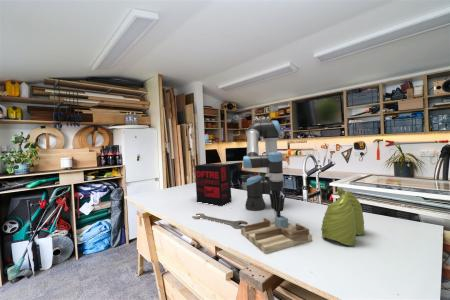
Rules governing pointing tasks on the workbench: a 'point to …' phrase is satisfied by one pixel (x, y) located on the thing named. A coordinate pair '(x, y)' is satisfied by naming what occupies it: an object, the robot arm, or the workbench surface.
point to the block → (281, 222)
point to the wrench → (222, 221)
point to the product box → (213, 183)
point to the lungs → (343, 219)
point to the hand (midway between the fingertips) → (277, 222)
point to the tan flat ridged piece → (275, 235)
